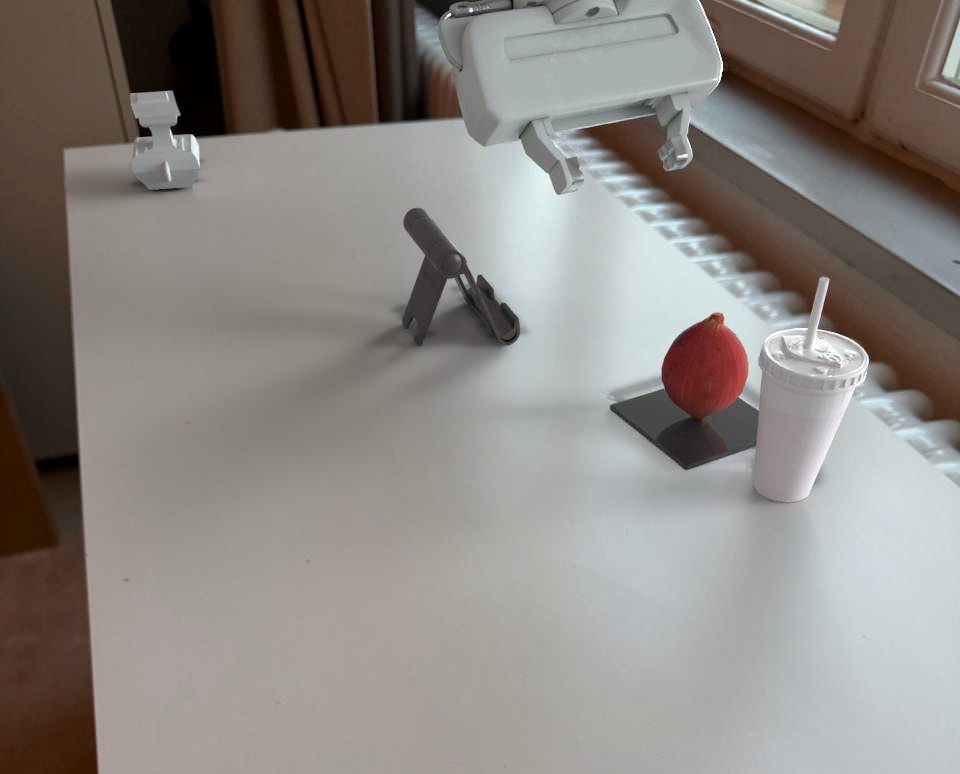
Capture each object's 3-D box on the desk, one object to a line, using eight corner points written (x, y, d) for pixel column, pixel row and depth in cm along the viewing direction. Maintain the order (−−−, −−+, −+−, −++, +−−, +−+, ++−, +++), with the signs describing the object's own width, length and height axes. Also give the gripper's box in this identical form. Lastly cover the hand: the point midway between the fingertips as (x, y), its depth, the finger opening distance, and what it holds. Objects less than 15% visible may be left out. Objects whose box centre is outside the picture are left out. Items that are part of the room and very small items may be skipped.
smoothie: (770, 448, 72) (817, 249, 62) (850, 488, 68) (913, 284, 58) (712, 484, 68) (752, 280, 59) (793, 527, 65) (850, 319, 55)
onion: (647, 430, 72) (662, 323, 67) (665, 390, 76) (680, 286, 71) (730, 446, 71) (752, 338, 66) (744, 405, 75) (766, 300, 69)
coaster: (706, 379, 78) (707, 374, 78) (787, 435, 73) (788, 430, 72) (609, 409, 75) (609, 404, 75) (686, 470, 69) (687, 465, 69)
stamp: (205, 197, 104) (190, 107, 98) (137, 202, 103) (118, 111, 97) (202, 166, 111) (187, 80, 105) (138, 171, 109) (120, 84, 104)
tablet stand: (520, 345, 82) (524, 241, 76) (426, 361, 80) (423, 255, 74) (482, 298, 88) (483, 198, 82) (394, 312, 86) (388, 211, 80)
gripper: (443, -25, 66) (518, 180, 67) (697, -56, 73) (763, 130, 74) (415, 37, 72) (484, 226, 72) (652, 3, 79) (713, 175, 80)
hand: (626, 177), depth 73 cm, fingers open, 8 cm apart
